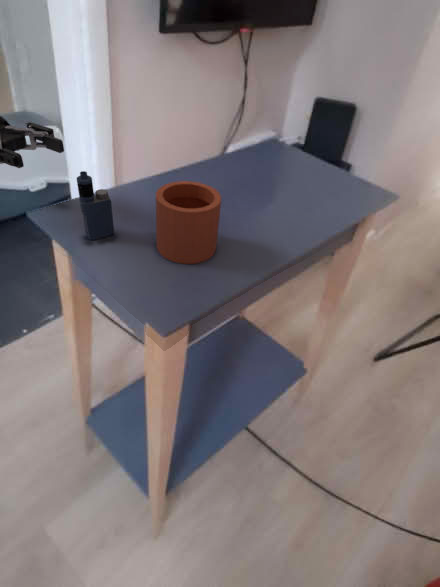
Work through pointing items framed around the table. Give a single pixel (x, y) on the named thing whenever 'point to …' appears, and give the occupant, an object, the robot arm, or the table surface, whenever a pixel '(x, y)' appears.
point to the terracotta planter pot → (187, 221)
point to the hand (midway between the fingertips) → (42, 153)
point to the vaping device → (95, 208)
